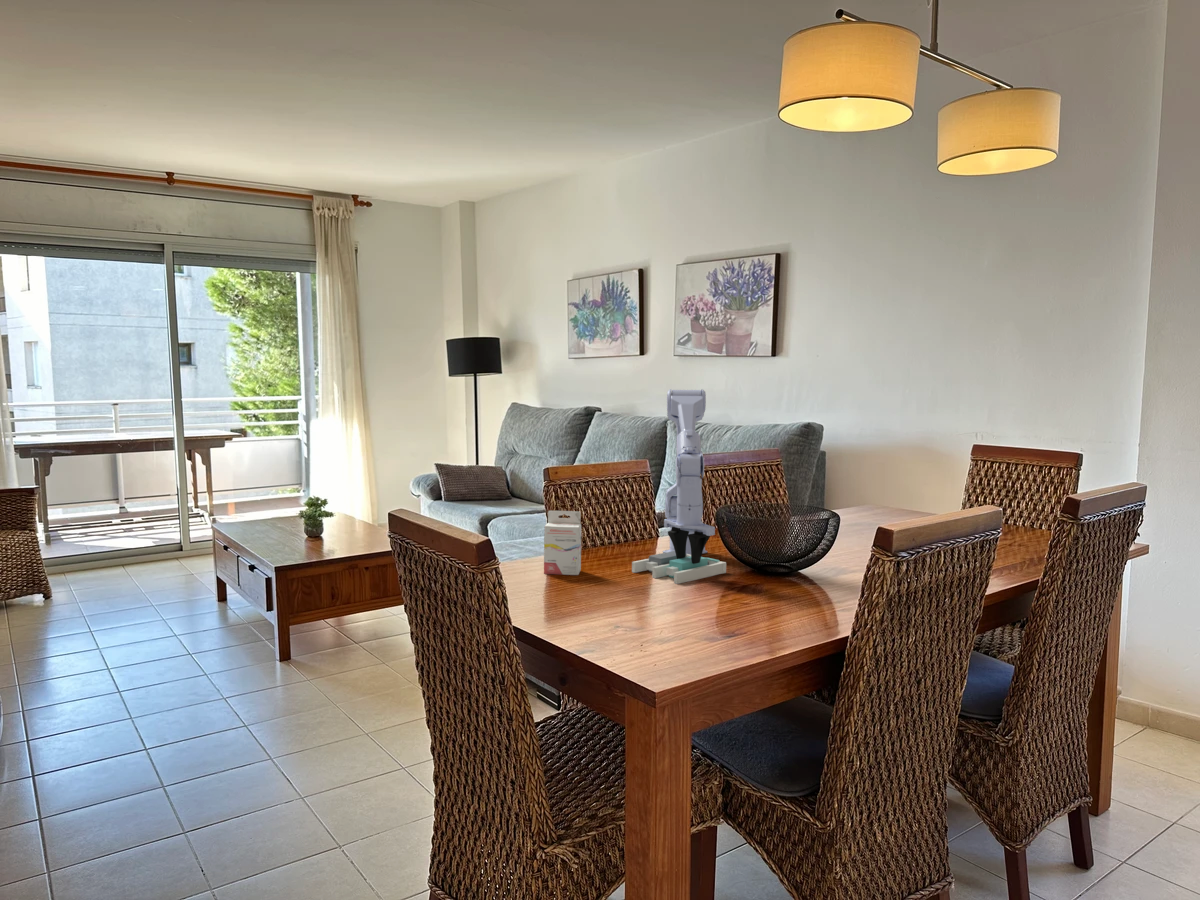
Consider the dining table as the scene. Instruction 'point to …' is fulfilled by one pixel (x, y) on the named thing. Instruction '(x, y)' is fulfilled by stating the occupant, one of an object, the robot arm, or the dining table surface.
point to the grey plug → (660, 559)
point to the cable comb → (685, 575)
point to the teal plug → (684, 565)
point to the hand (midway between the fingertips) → (688, 561)
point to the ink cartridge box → (562, 543)
